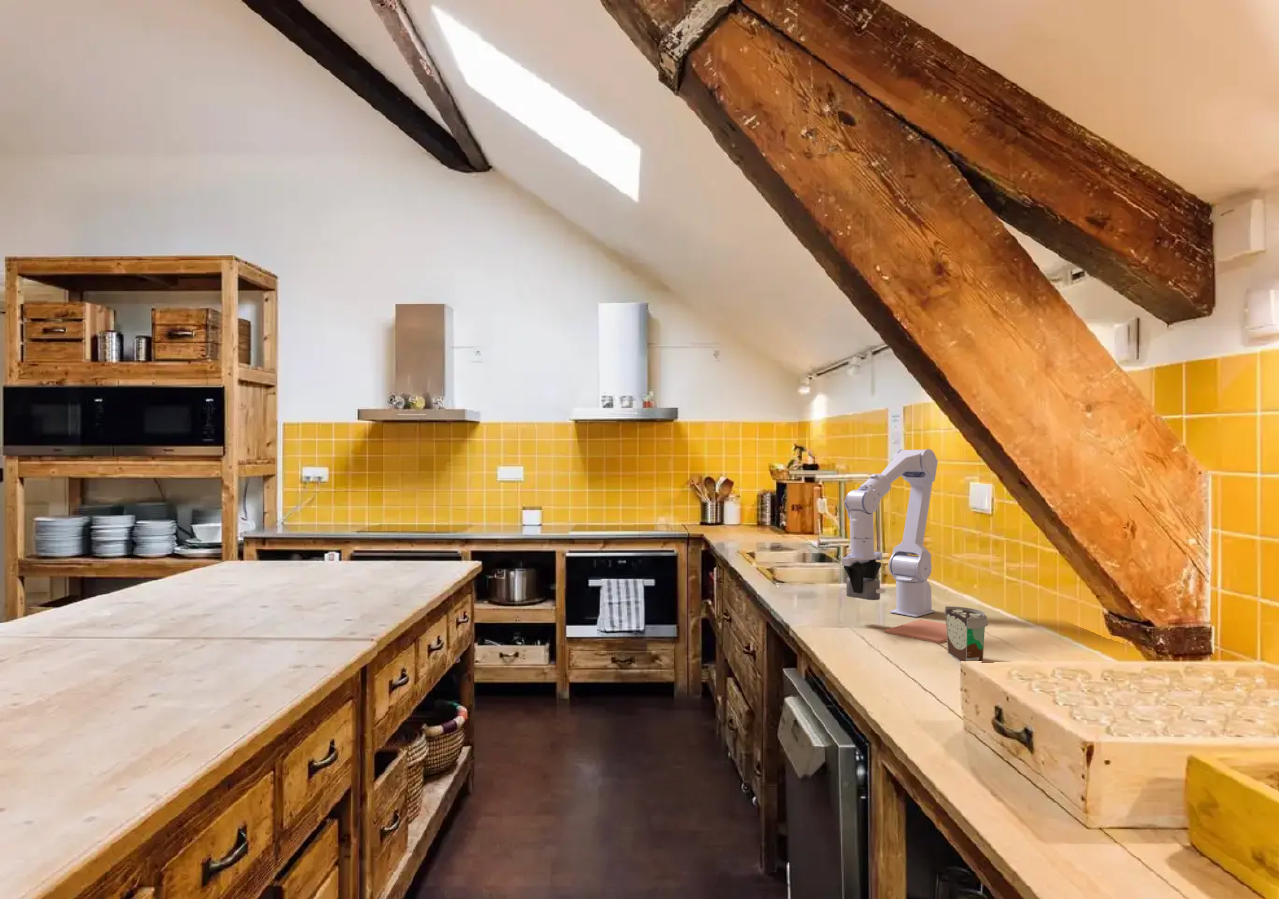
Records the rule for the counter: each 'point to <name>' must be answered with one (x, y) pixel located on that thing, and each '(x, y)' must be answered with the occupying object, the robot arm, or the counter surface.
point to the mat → (922, 630)
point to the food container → (965, 633)
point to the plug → (866, 589)
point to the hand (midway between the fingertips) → (863, 591)
